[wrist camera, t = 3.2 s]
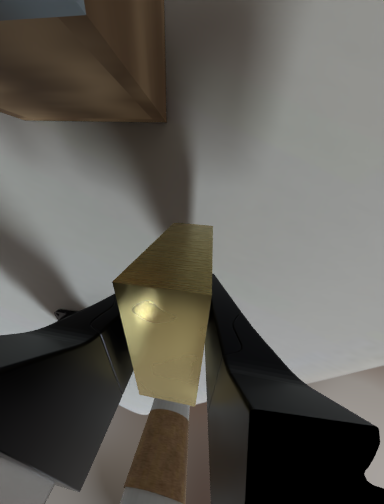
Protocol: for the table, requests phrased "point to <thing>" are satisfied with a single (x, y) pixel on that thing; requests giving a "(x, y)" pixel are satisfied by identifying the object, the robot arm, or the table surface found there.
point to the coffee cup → (160, 457)
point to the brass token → (168, 311)
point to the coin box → (83, 60)
